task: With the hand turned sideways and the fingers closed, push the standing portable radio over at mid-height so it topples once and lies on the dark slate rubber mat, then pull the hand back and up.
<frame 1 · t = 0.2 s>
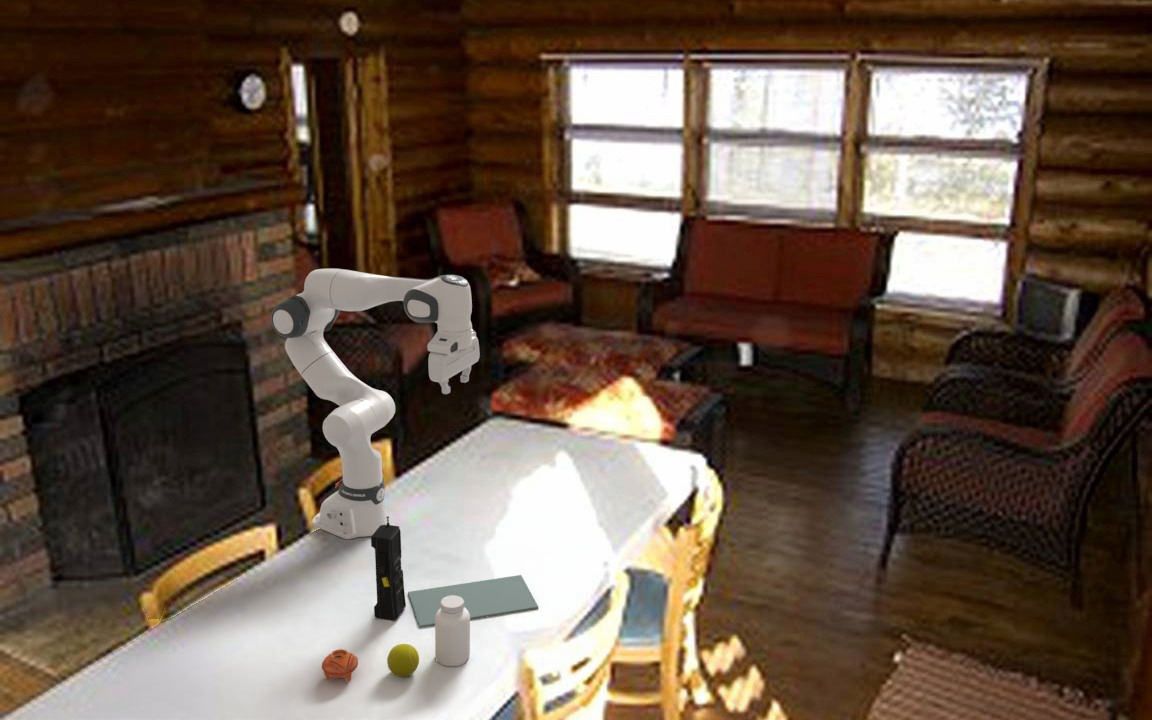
hand: (455, 387, 269), 48 cm above the table, tool pointing down, fingers open, 8 cm apart
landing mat: (472, 601, 259), on the table
portable radio: (389, 614, 253), on the table
tennis ball: (403, 674, 230), on the table
pot: (340, 677, 228), on the table
pill bottle: (452, 658, 236), on the table
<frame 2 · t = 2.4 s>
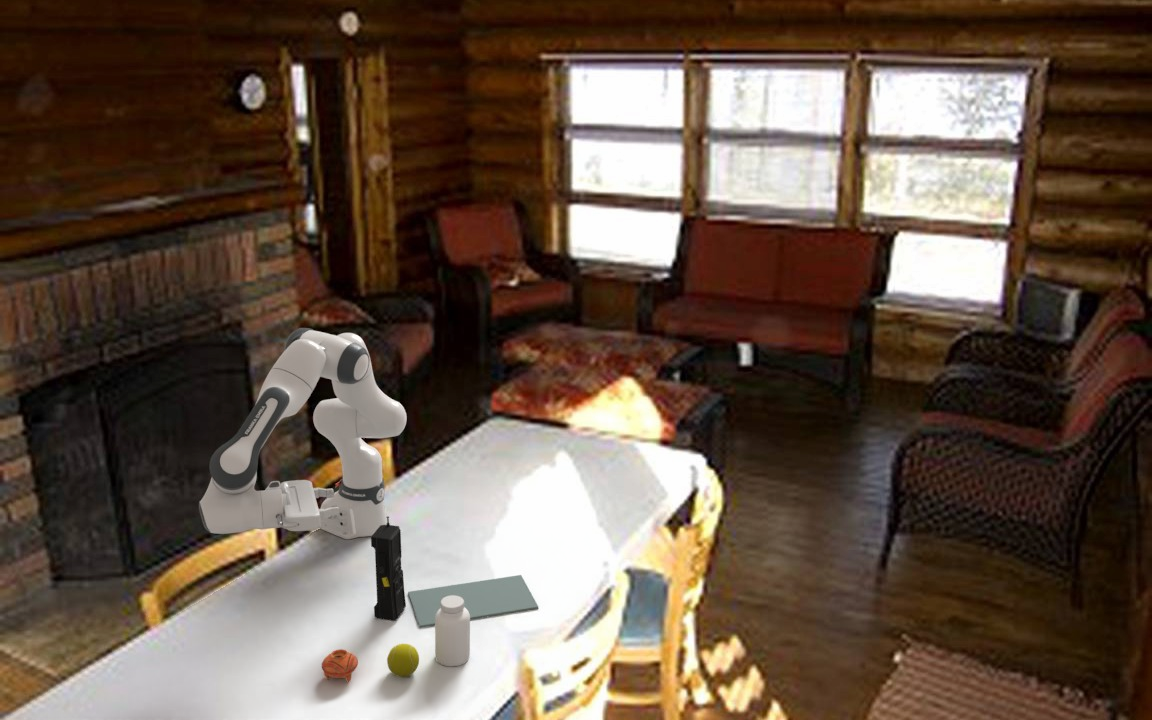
hand: (336, 501, 239), 33 cm above the table, tool horizontal, fingers open, 8 cm apart
nothing on the table moved.
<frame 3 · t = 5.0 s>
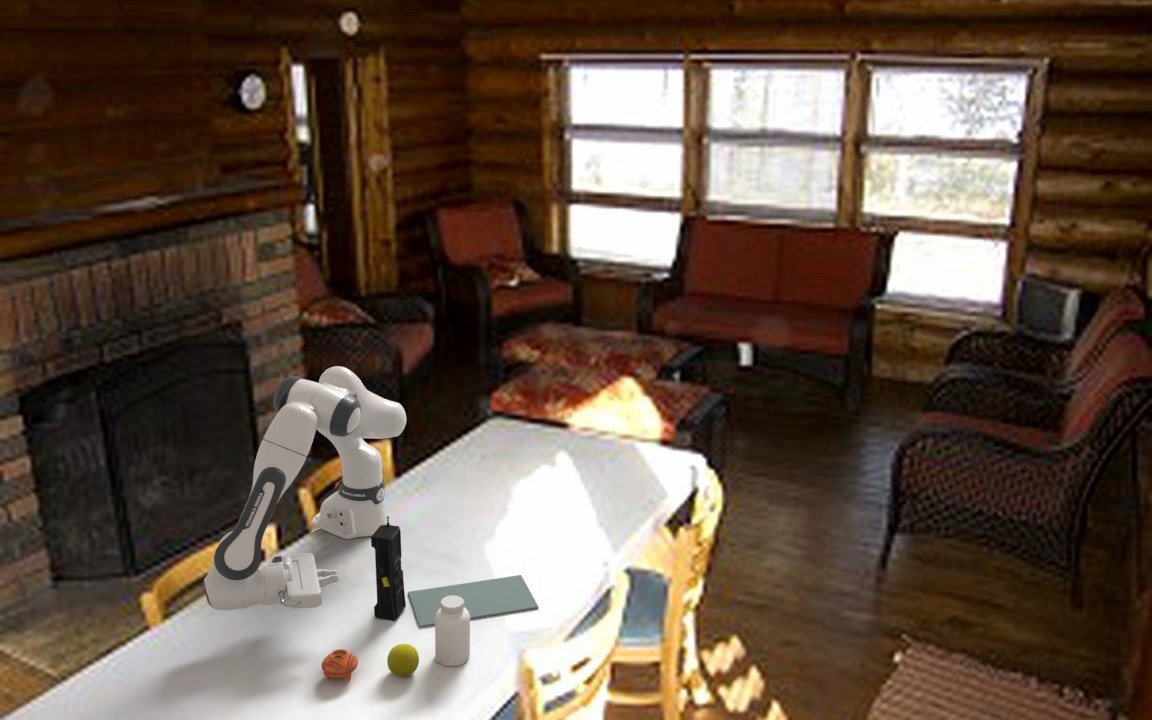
hand: (337, 575, 245), 13 cm above the table, tool horizontal, fingers closed
nothing on the table moved.
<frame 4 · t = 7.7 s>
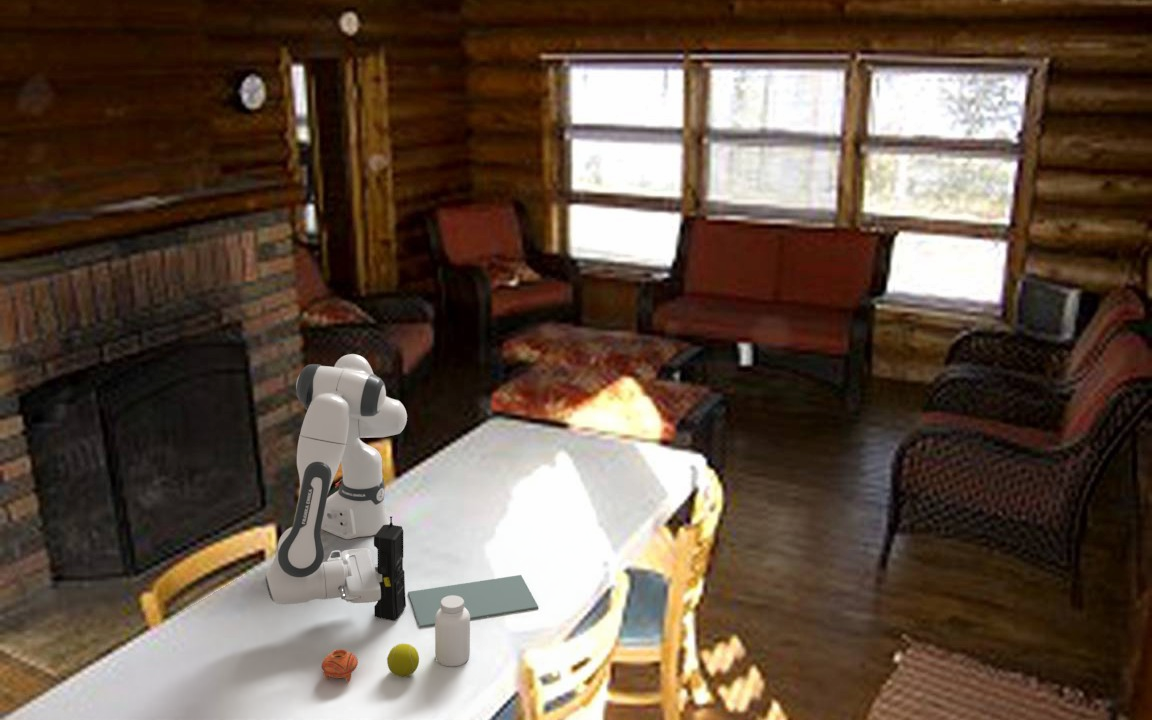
hand: (394, 570, 249), 12 cm above the table, tool horizontal, fingers closed
portable radio: (389, 614, 253), on the table, touching gripper
everything else where it was.
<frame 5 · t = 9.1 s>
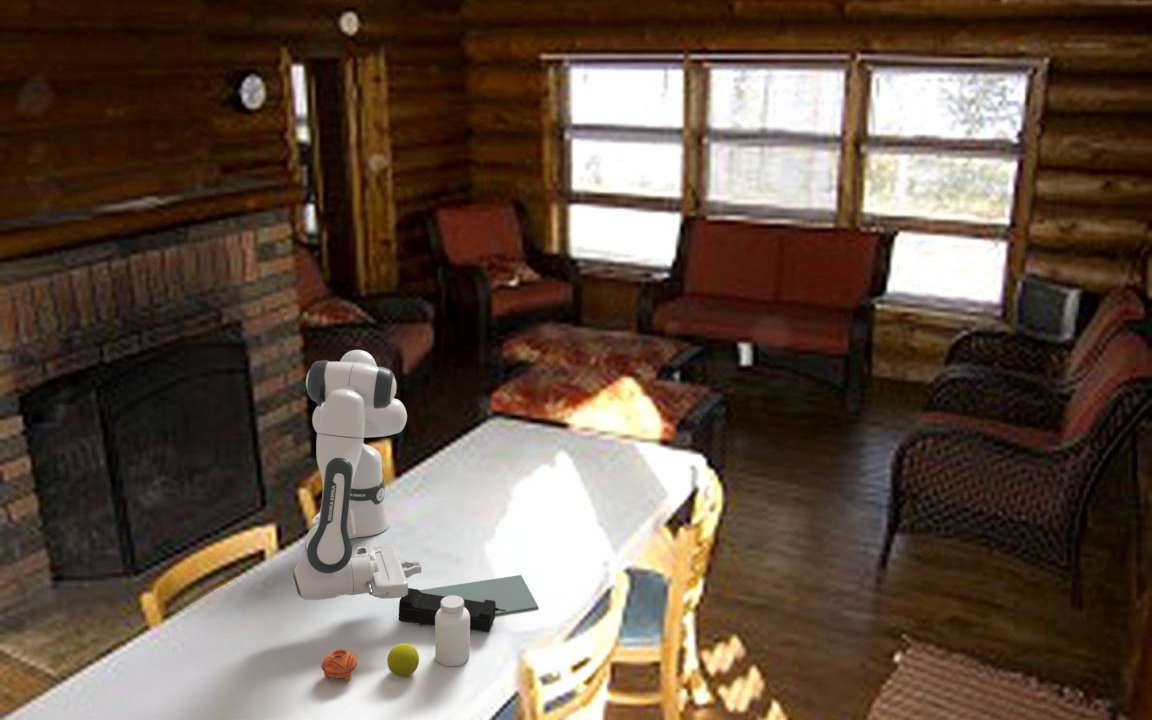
hand: (420, 566, 251), 12 cm above the table, tool horizontal, fingers closed
portable radio: (401, 605, 249), point 4 cm above the table, touching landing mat
everything else where it was.
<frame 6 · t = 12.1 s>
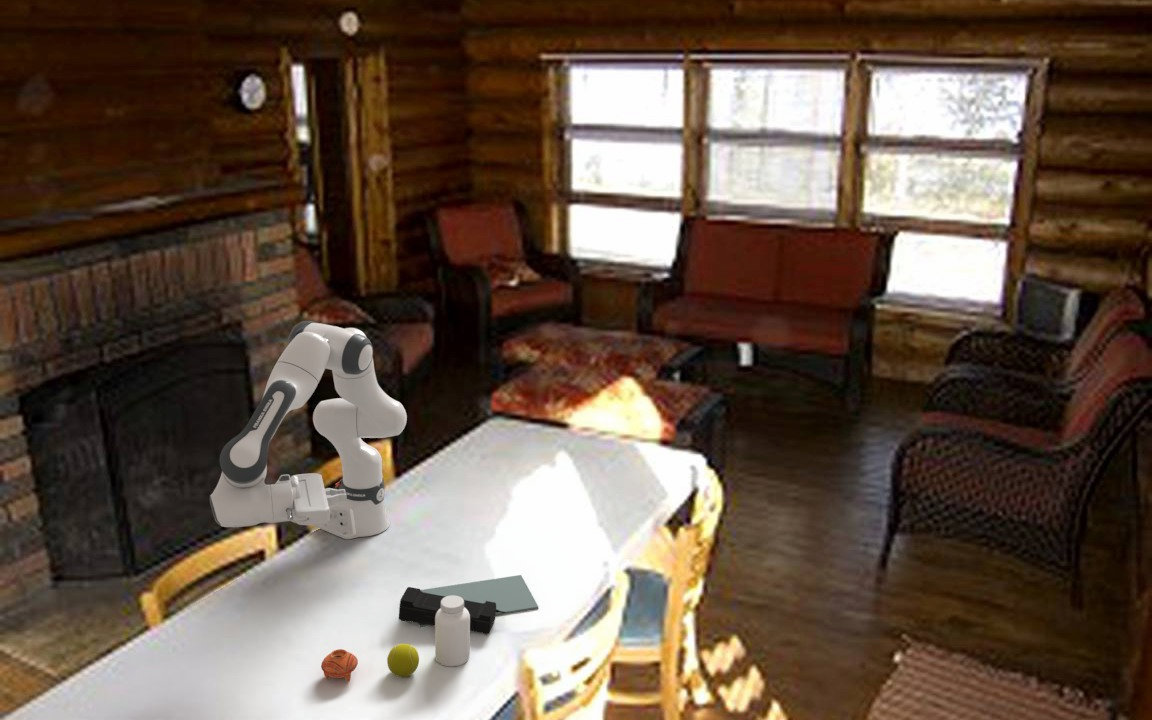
hand: (346, 494, 240), 33 cm above the table, tool horizontal, fingers closed
nothing on the table moved.
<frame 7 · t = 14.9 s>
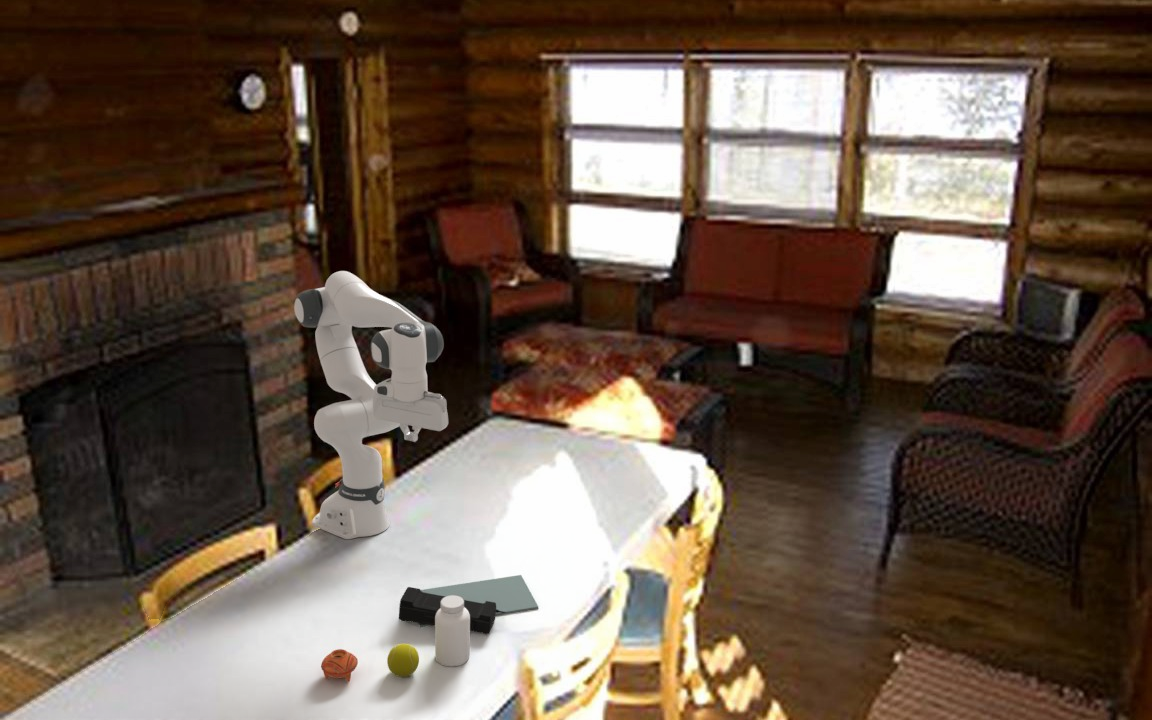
hand: (411, 440, 257), 39 cm above the table, tool pointing down, fingers closed
nothing on the table moved.
at the end: portable radio tilted 95°; portable radio touching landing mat; the gripper is holding nothing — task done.
